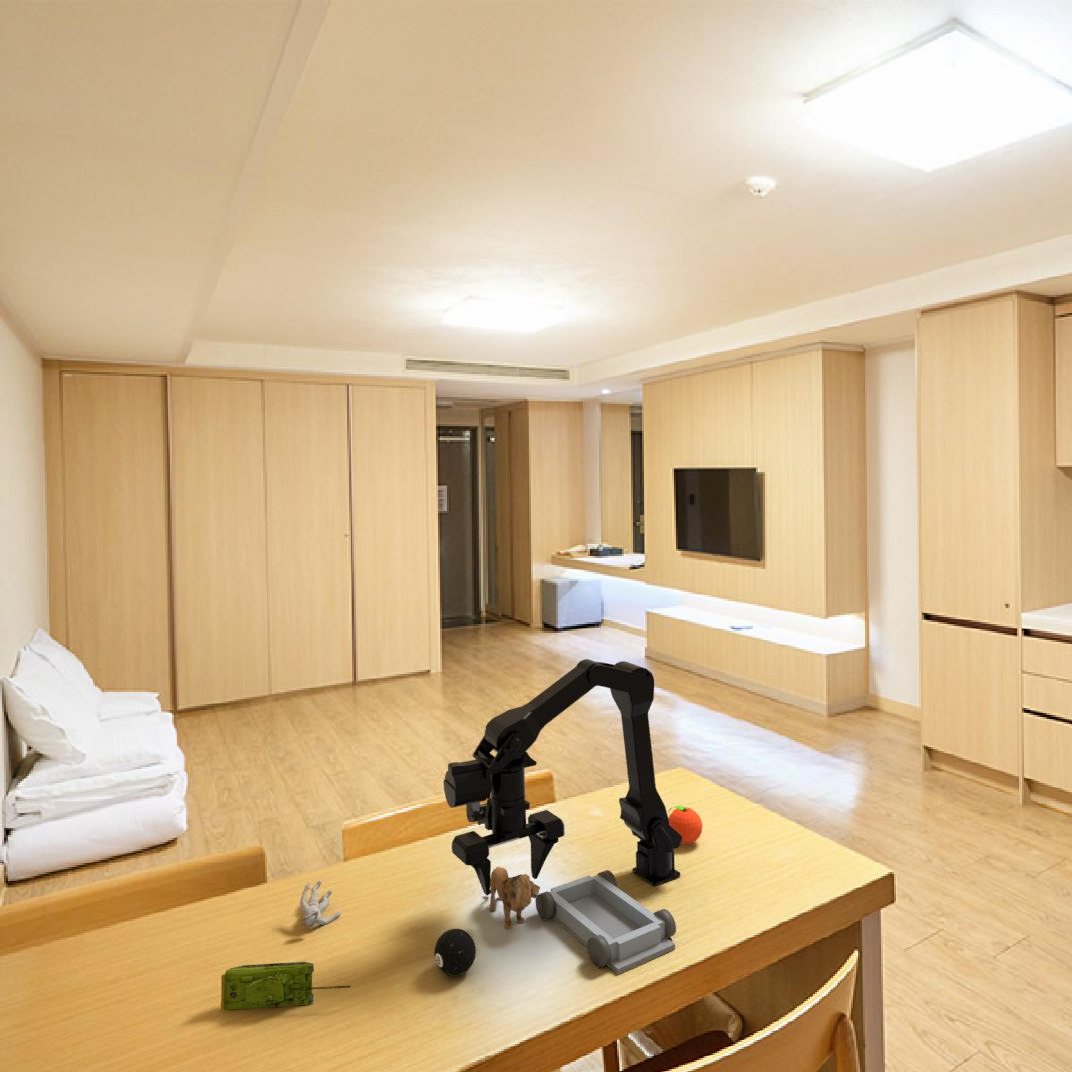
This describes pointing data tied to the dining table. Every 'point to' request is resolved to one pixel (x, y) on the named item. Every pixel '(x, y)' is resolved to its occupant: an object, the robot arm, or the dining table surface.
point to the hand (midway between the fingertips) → (510, 885)
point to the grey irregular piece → (315, 907)
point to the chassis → (608, 921)
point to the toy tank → (268, 985)
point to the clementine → (686, 824)
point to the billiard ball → (455, 952)
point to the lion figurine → (511, 893)
